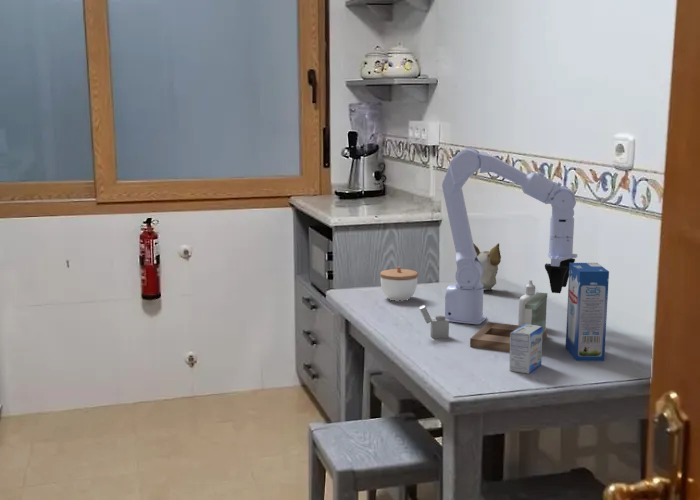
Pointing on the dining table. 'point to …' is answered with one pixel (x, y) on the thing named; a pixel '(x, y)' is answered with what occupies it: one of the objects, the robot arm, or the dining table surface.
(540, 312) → the socket board
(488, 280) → the ceramic sculpture
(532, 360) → the medicine box
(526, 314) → the eye dropper bottle
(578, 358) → the milk carton
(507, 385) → the dining table surface
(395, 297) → the lidded jar
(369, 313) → the dining table surface
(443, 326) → the lighter
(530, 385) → the dining table surface
